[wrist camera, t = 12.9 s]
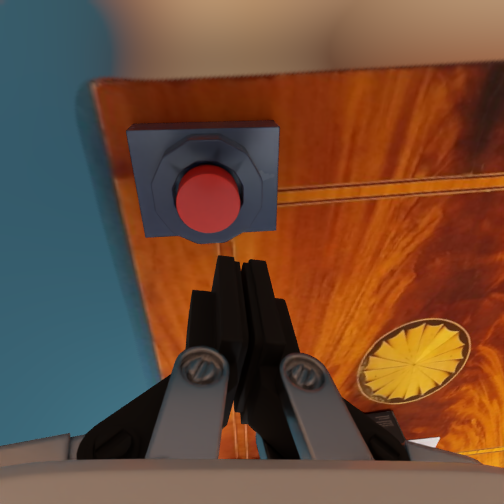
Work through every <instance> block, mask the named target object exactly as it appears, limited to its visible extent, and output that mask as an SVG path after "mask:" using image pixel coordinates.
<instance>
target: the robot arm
mask: <svg viewBox="0 0 504 504" xmlns="http://www.w3.org/2000/svg"><path fill="white" fill-rule="evenodd" d="M233 400H234V410H235V412H240V415H241V424H248V425H249V426H250V427H251V428H252V429H253V430H254V431H255V432H256V444H257V448H258V452H259V456H260V459H218V456H219V448H220V440H221V432H222V429H223V428H224V427H225V426H226V425H227V422H228V419H229V415H230V411H231V408H232V404H233ZM0 504H504V468H500V467H494V466H489V465H483V464H482V463H480V462H479V461H478V460H475V459H473V458H471V457H468V456H465V455H461V454H457V453H453V452H449V451H445V450H441V449H438V448H434V447H430V446H426V445H422V444H418V443H415V442H411V441H407V440H405V441H404V443H403V444H402V443H400V441H399V440H398V439H397V438H396V437H395V436H393V435H392V434H391V433H390V432H389V431H387V430H386V429H384V428H383V427H382V426H380V425H379V424H378V423H376V422H375V421H374V420H372V419H371V418H370V417H368V416H367V415H365V414H364V413H363V412H361V411H360V410H359V409H357V408H356V407H355V406H353V405H352V404H350V403H349V402H348V401H346V400H345V399H344V398H342V397H341V395H340V393H339V391H338V389H337V387H336V385H335V384H334V382H333V380H332V378H331V376H330V374H329V372H328V370H327V369H326V367H325V366H324V365H323V364H322V363H321V362H320V361H319V360H318V359H316V358H314V357H312V356H311V355H308V354H304V353H300V350H299V347H298V343H297V340H296V336H295V333H294V330H293V326H292V323H291V319H290V316H289V312H288V309H287V305H286V302H285V300H284V299H279V298H275V297H274V293H273V289H272V285H271V281H270V277H269V272H268V268H267V264H266V261H261V260H253V259H250V260H249V262H248V263H243V265H242V270H241V269H240V262H236V261H234V257H228V256H220V255H218V258H217V263H216V269H215V274H214V280H213V286H212V291H211V292H209V291H199V290H193V291H192V296H191V303H190V310H189V318H188V327H187V338H186V350H184V351H183V352H182V353H180V354H179V355H178V357H177V359H176V361H175V364H174V367H173V370H172V373H171V375H169V376H168V377H166V378H165V379H163V380H162V381H160V382H159V383H157V384H156V385H154V386H153V387H151V388H150V389H149V390H147V391H146V392H144V393H143V394H141V395H140V396H138V397H137V398H135V399H134V400H132V401H131V402H129V403H128V404H127V405H125V406H124V407H122V408H121V409H119V410H118V411H116V412H115V413H114V414H112V415H110V416H109V417H108V418H106V419H105V420H103V421H102V422H100V423H99V424H97V425H96V426H94V427H93V428H92V429H91V430H90V431H89V432H88V433H87V434H85V435H80V436H75V437H70V433H68V434H62V435H58V436H52V437H46V438H41V439H35V440H30V441H25V442H20V443H14V444H9V445H3V446H0Z"/></svg>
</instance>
